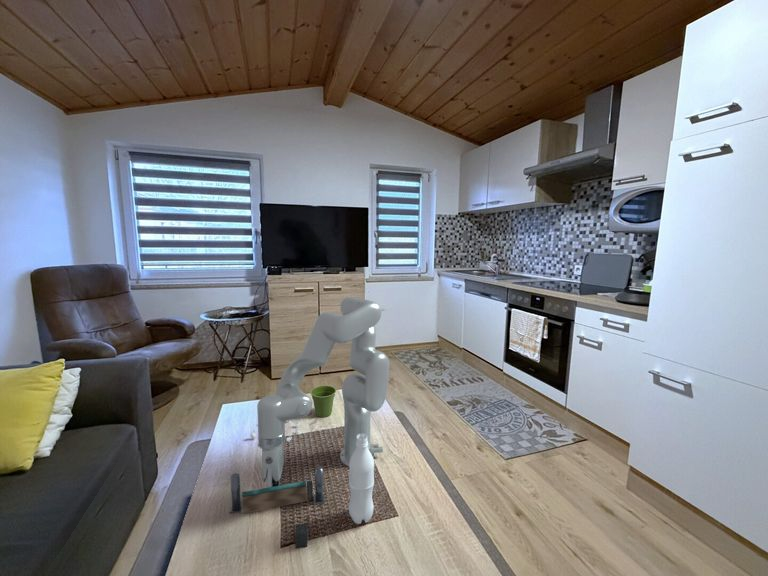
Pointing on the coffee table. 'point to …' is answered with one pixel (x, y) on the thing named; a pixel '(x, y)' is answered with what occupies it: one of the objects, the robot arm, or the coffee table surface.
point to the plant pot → (323, 400)
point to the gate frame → (301, 529)
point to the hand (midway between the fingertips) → (273, 493)
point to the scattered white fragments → (286, 438)
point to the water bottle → (361, 481)
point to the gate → (276, 496)
